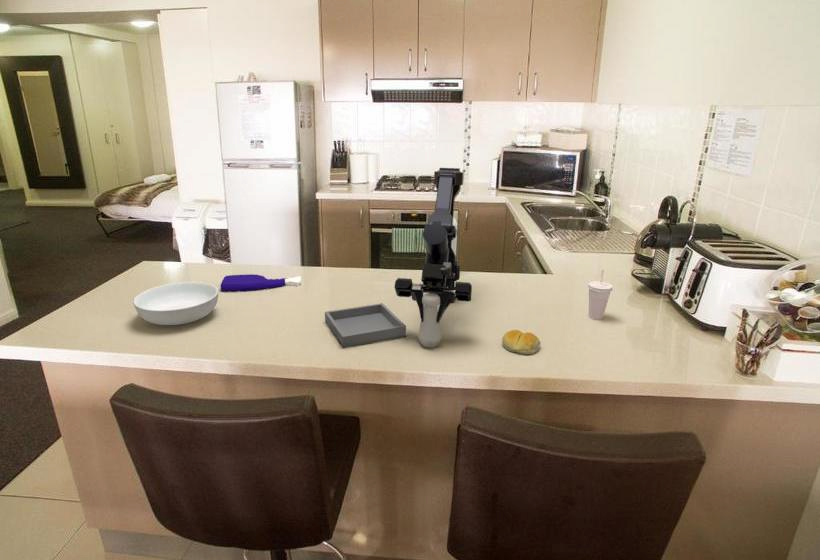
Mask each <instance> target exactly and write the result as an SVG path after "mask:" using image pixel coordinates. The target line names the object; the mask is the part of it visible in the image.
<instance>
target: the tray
mask: <svg viewBox="0 0 820 560" xmlns="http://www.w3.org/2000/svg"><path fill="white" fill-rule="evenodd" d="M324 322H325V324H326V325H327V327H328V328H329V330H330V332H331V333H332V334H333V336H334V337H335V338H336V340H337V341H338V343H339V345H341V348H342V349H346V348H351V347H352V348H353V347H357V346H362V345H366V344H367V345H368V344H373V343H378V342H379V343H380V342H383V341H384V342H385V341H390V340H396V339H402V338H405V337H406V336H407V325H406V324H405V323H403V321H401V320H400V318H398V317H397V316H396V315H395V314H394V312H392V311H391V310H390V309H389V308H388V307H387V305H385V304H384V303H383V302H381V303H374V304H368V305H361V306H354V307H349V308H342V309H341V308H340V309H335V310H328V311H324Z"/></svg>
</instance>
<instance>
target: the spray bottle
mask: <svg viewBox="0 0 820 560" xmlns="http://www.w3.org/2000/svg"><path fill="white" fill-rule="evenodd" d="M301 279H302V278H301V276H300V275H298V276H295V277H294V276H293V277H283V278H274V279H273V278H269V279H268V278H266V277H265V276H263V275H260V274H253V273H252V274H251V273H250V274H232V275H225V276H224V277H223V279H222V281H221V283H220V290H221V291H220V292H222V291H225V292H226V293H228V292H227V291H243V292H254V291H263V290H264V289H265V290H269V289H275V288H279V287H281V288H282V287H285V286H295V287H298V286H299V285H301V283H302V281H301ZM225 292H224V293H225Z"/></svg>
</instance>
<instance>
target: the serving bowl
mask: <svg viewBox="0 0 820 560" xmlns="http://www.w3.org/2000/svg"><path fill="white" fill-rule="evenodd" d="M218 300H219V289H218V287H216V285H213V284H211V283H207V282H200V281H182V282H181V281H180V282H179V281H178V282H172V283H165V284H160V285H157V286H154V287H151V288H149V289H146V290H144V291H142V292H140V293H138V294H137V296H135V297H134V298H133V303H132V304H133V306H134V308H135V310H136V313H137V314H138V315H139V316H140V318H142V319H143V320H145V321H147V322H148V323H151V324H154V325H159V326H177V325H179V326H180V325H185V324H189V323H192V322H196V321H198V320H201V319H203V318H204V317H206V316H208V315H209V314H211V312H213V310H214V309H215V307H216V305H218V304H217V303H218Z"/></svg>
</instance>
